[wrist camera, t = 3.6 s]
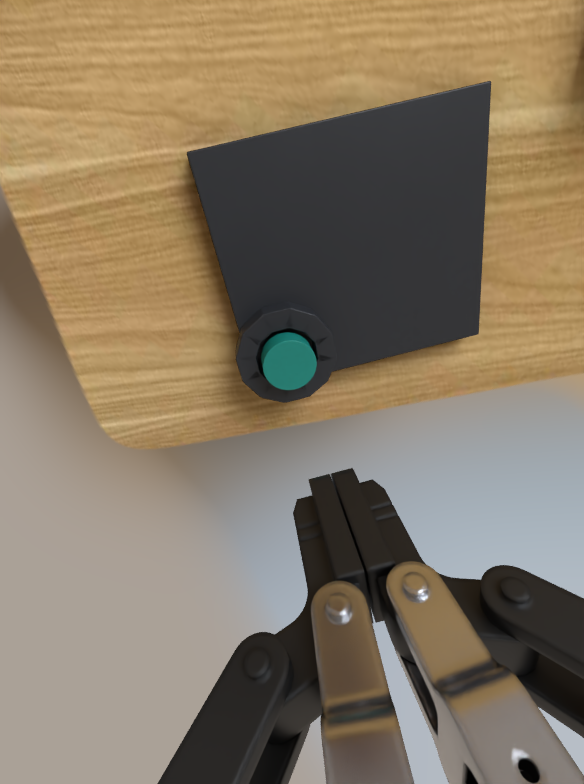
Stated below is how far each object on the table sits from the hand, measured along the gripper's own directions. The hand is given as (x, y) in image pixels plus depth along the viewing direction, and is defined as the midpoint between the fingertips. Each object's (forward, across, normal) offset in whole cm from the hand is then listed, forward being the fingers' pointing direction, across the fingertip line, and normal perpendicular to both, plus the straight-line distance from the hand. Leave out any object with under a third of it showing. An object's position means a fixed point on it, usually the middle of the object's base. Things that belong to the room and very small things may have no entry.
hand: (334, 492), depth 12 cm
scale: (+15, +6, +4) cm, 16 cm away
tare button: (+12, 0, 0) cm, 12 cm away
